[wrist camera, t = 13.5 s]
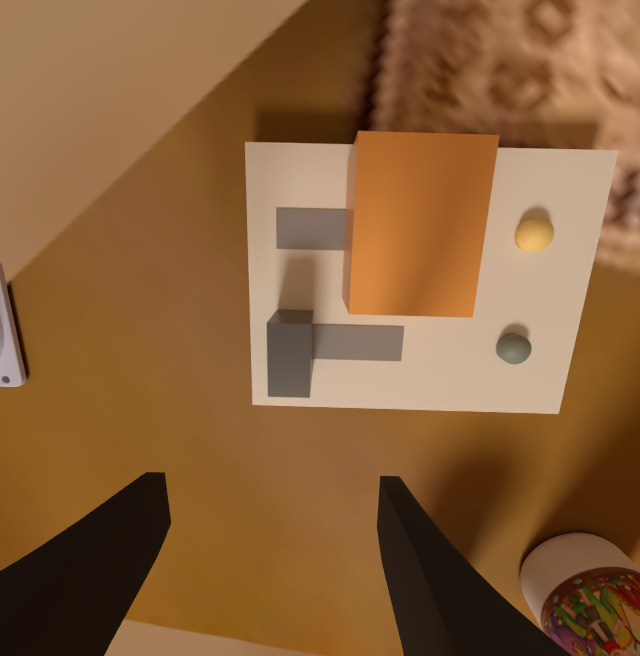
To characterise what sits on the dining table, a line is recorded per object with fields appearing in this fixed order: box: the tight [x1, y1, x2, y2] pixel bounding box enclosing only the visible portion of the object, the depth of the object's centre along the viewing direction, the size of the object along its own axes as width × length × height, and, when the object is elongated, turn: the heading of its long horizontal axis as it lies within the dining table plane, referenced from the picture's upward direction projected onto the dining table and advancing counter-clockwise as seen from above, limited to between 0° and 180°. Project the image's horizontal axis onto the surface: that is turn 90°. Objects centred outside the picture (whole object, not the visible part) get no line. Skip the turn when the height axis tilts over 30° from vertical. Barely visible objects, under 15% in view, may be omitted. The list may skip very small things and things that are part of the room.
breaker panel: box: [245, 142, 619, 414], centre depth 18 cm, size 18×14×3 cm
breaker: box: [267, 309, 314, 398], centre depth 16 cm, size 2×4×3 cm, turn 178°
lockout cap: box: [342, 131, 500, 318], centre depth 14 cm, size 5×7×4 cm
